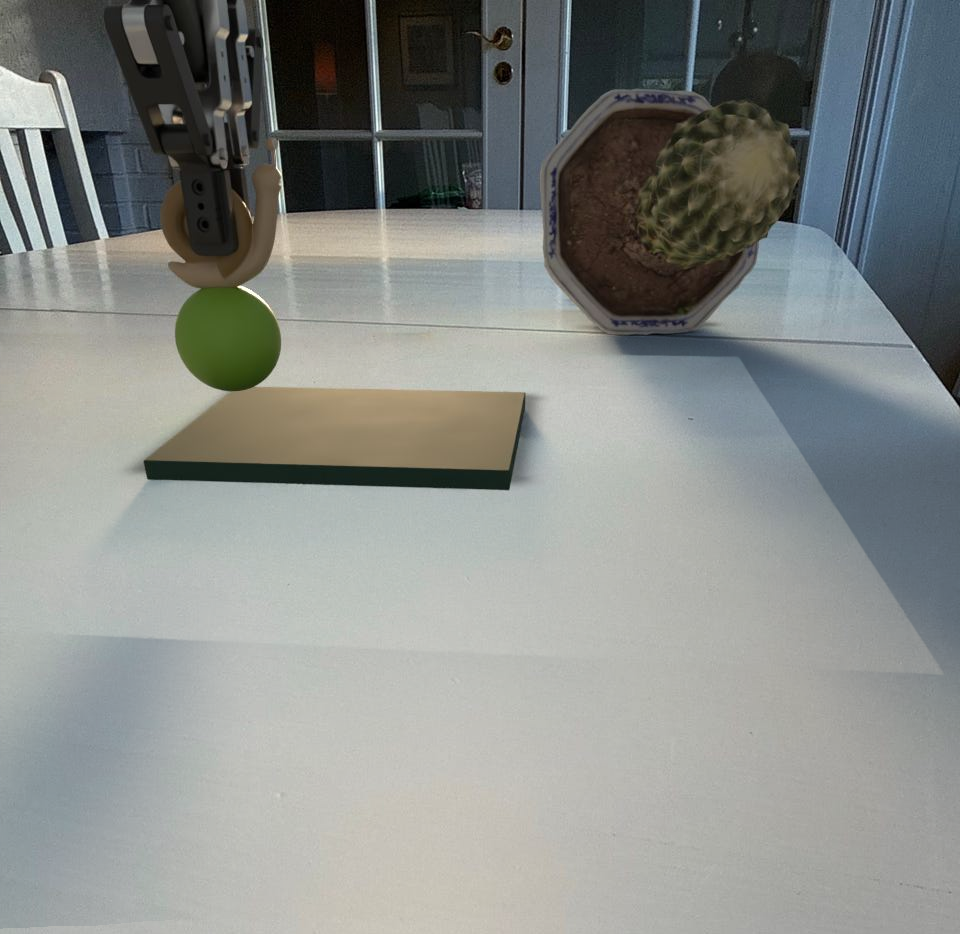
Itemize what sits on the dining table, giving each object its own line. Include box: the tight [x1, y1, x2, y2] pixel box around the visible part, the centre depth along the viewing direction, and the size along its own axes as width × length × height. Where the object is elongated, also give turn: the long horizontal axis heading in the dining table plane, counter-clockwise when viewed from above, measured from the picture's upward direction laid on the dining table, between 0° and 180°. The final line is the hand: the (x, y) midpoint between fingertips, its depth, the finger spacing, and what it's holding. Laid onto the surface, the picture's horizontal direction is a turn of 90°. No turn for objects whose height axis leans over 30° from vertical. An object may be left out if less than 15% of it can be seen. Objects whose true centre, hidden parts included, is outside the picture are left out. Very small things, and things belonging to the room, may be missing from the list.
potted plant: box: [539, 88, 801, 336], centre depth 68 cm, size 18×18×30 cm
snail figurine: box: [160, 136, 282, 392], centre depth 46 cm, size 5×6×12 cm
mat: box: [143, 386, 527, 491], centre depth 49 cm, size 18×14×1 cm
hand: (223, 250), depth 45 cm, fingers closed on snail figurine
